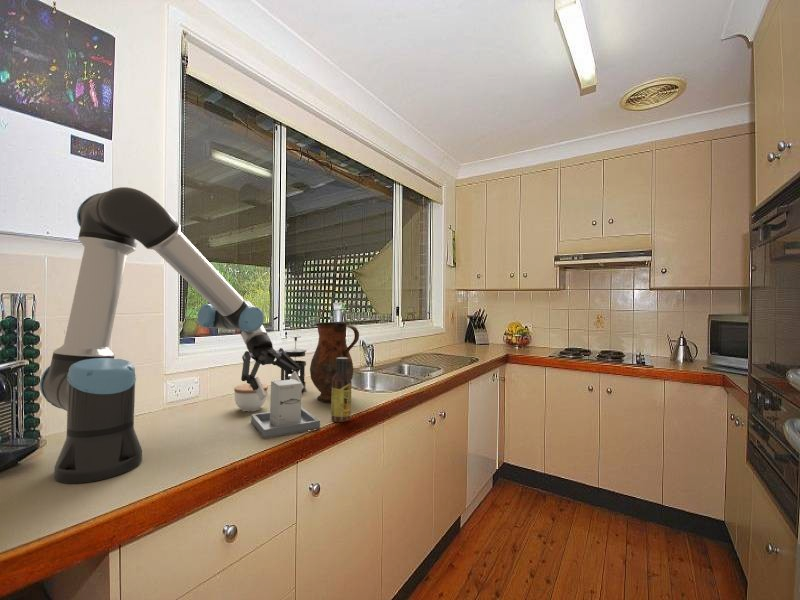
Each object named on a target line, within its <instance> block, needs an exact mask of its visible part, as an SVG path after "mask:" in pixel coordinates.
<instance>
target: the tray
mask: <svg viewBox="0 0 800 600" xmlns="http://www.w3.org/2000/svg"><path fill="white" fill-rule="evenodd" d="M250 417H251V418H250V423H251V424H252V425H253V427H254V428H255V429H256V431H257V432H258V433H259V434H260V436H261V437H262V438H263V440H267V439H272V438H271V437H273V438H277V436H278V437H283V436H282V435H284V436H289V434H290V435H295V434H300V433H299V432H301V433H305V432H304V431H307V432H309V431H308V430H312V431H315V430H314V429H318V430H321V420H320V419H319V418H317V417H316V416H314V415H313V414H312V413H310V412H309V411H308V410H306V409H305V408H303V407H301V423H296V424H290V425H283V426H277V427H275V426H274V425H273V424H272V423H271V422H270V411H267V412H260V413H252V414H250ZM294 433H295V434H294ZM266 438H267V439H266Z"/></svg>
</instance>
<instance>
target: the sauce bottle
mask: <svg viewBox="0 0 800 600" xmlns="http://www.w3.org/2000/svg"><path fill="white" fill-rule="evenodd" d="M336 363H337V369H336V371H337V372H336V374H335V375H334V377H333V380H332V398H331V403H330V415H331V416H330V417H331V421H332V422H334V423H345V422H348V421H350V419H351V415H352V388H353V387H352V380H351V379H350V376H349V373H348V363H349V358H347V357H339V358H336Z"/></svg>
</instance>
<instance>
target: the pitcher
mask: <svg viewBox="0 0 800 600" xmlns="http://www.w3.org/2000/svg"><path fill="white" fill-rule="evenodd" d="M347 324H348V323H347V322H346V321H331V322H327V321H326V322H316V324H315V325H316V328H317V332H318V343H317V346H316V348H315V351H314V354H313V356H312V358H311V361H310V365H309V373H310V375H309V376H310V380H311V382H312V383H313V385H314V386H315V388H316V389H317V390H318V391H319V392H320V393H319V395H318V396H317V397H316V399H317V401H319V402H322V403H329V404H331V398H332V380H333V377H334V375H335V374H336V372H337V371H336V369H337V363H336V358H339V357H347V358H349V363H348V373H349V376H350V379H351V381H352V379H353V378H354V377H353V376H354V369H355V368H354V363H353V359H352V356H351V353H350V351H351V349H352V348H353V347H354V346H355V345H356V344H357V343H358V341H359V340H360V339H359V338H360V331H359V330H358V328H357V327H356V326H354V325H347ZM347 328H349V329H351V330H352V331H353V334H354V338H353V341H352V342H351V343H350V345H347V336H346V332H347Z"/></svg>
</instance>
